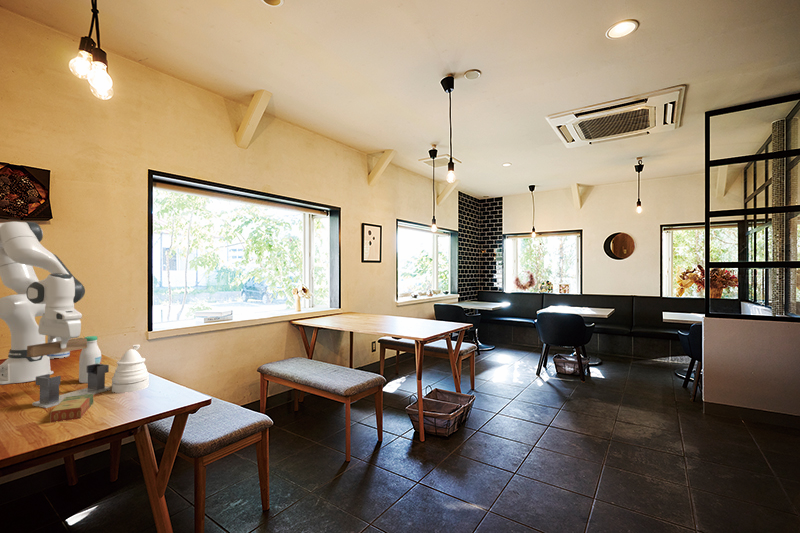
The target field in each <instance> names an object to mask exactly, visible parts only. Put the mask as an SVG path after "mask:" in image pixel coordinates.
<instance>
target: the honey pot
mask: <svg viewBox="0 0 800 533" xmlns="http://www.w3.org/2000/svg"><path fill="white" fill-rule="evenodd" d="M140 348H141V344H133V345H132V348H130V349H128V350H127V351H125V352H124V354H123V355H122V357H121V358H120V359H119V360H118V361H117V362H116V365H117V366H116V368H115V372H114V373H113V376H112V378H111V392H112V393H114V392H115V393H114V394H125V392H128V393H134V392H137V391H138V390H139V391H142V390H144V389H147V388H149V384H150V382H149V381H150V378H149V376H150V374H149V371H148V369H147V365H146V364H145V362H146V358H145V357H142V355H141V354H140V353H139V351H137V350H139V349H140ZM133 391H134V392H133Z"/></svg>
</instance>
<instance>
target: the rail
mask: <svg viewBox="0 0 800 533" xmlns="http://www.w3.org/2000/svg"><path fill="white" fill-rule="evenodd" d="M60 343H61V341H57V342H50V343H47V342H45V343H43V344H37V345H30V346H27V356H28V357H39V356H44V355H46V356H47V355H50V354H56V353H61V352H67V351H70V352H73V351H78V350H83V349H84V348H87V339H85V337H84V338H83V337H78V338H72V339H70V340H68V342H67V344H66V348H63V349H62V348H59V344H60Z"/></svg>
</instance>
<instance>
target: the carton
mask: <svg viewBox="0 0 800 533" xmlns="http://www.w3.org/2000/svg"><path fill="white" fill-rule="evenodd" d="M93 404H94V395H93V394H86V395H78V396H70V397H66V398H64V399H63V400H62V401H61V402H60V403H59V404H58V405H55V406H54V408H53V409H52V410H51V411H50V414H49V423H50V422H51V423H57V422H56V421H58V422H64V421H63V420H66V421H72V419H73V420H78V419H82V418H83V416H85V414H86V413H87V412H88V410H90V408H92V406H93ZM91 405H92V406H91ZM86 411H87V412H86Z"/></svg>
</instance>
